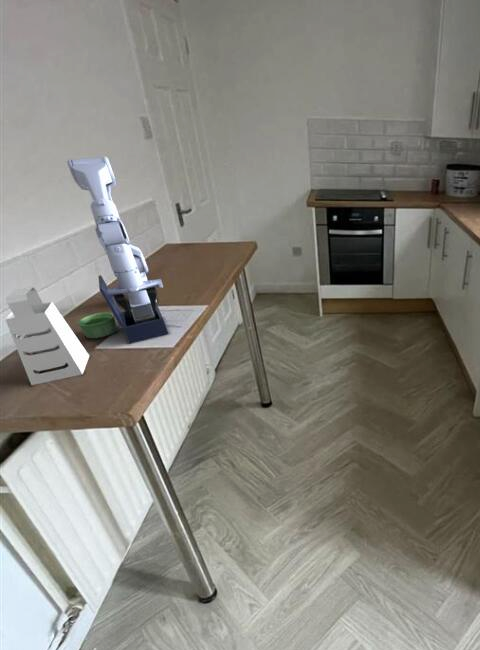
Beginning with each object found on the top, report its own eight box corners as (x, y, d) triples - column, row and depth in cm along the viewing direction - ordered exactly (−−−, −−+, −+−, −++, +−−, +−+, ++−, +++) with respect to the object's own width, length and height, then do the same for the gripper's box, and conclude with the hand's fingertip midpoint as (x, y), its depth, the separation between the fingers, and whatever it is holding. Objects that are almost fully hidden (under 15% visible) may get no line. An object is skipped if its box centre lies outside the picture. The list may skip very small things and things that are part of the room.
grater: (31, 385, 98) (-18, 304, 87) (42, 365, 106) (-1, 289, 95) (82, 374, 101) (41, 294, 90) (89, 355, 109) (52, 281, 98)
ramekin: (87, 330, 123) (80, 316, 121) (120, 323, 126) (115, 310, 124) (81, 342, 116) (74, 327, 114) (117, 335, 119) (111, 320, 117)
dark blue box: (162, 318, 129) (156, 303, 126) (168, 333, 118) (163, 318, 116) (126, 326, 125) (120, 312, 122) (129, 343, 114) (123, 328, 112)
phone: (134, 317, 123) (131, 308, 121) (154, 313, 125) (150, 303, 124) (137, 329, 116) (133, 319, 114) (158, 324, 118) (154, 314, 116)
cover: (101, 275, 116) (98, 275, 116) (102, 288, 105) (99, 289, 105) (120, 310, 122) (118, 311, 122) (123, 326, 112) (121, 327, 111)
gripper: (95, 279, 106) (116, 327, 114) (156, 267, 112) (173, 314, 120) (95, 272, 112) (115, 319, 119) (153, 261, 118) (169, 307, 125)
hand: (144, 316), depth 120 cm, fingers closed on phone, 5 cm apart
